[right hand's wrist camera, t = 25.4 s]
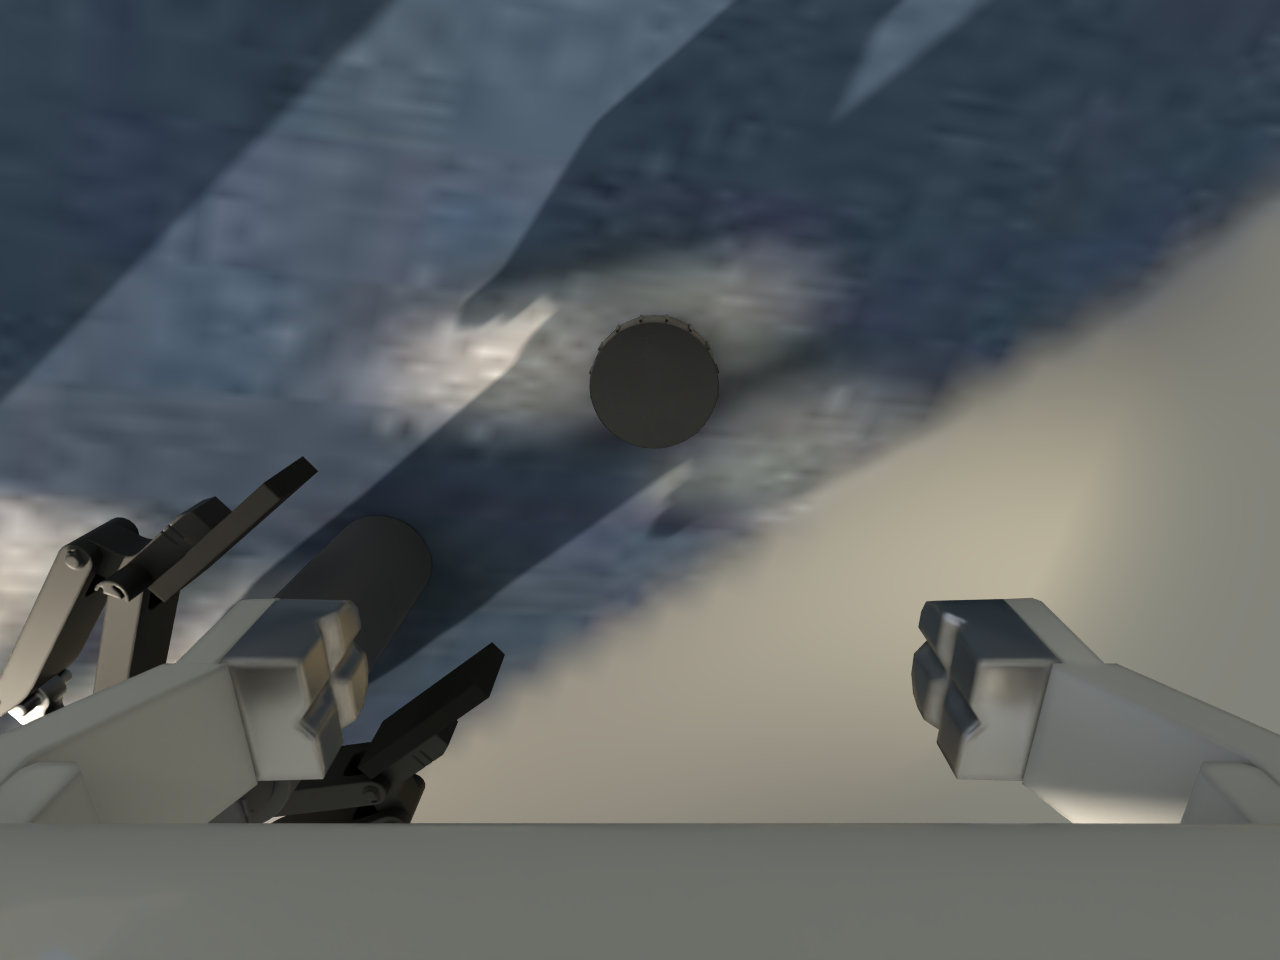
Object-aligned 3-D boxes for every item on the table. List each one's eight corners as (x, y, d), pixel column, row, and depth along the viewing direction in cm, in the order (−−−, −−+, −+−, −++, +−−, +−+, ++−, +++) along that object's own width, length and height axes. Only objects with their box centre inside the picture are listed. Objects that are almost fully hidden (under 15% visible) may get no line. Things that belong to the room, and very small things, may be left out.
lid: (737, 342, 29) (741, 351, 28) (687, 453, 31) (688, 467, 29) (619, 294, 29) (616, 300, 27) (576, 409, 31) (570, 421, 29)
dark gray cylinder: (348, 605, 35) (127, 879, 20) (324, 518, 33) (65, 752, 19) (440, 598, 34) (280, 873, 20) (420, 511, 33) (231, 743, 19)
